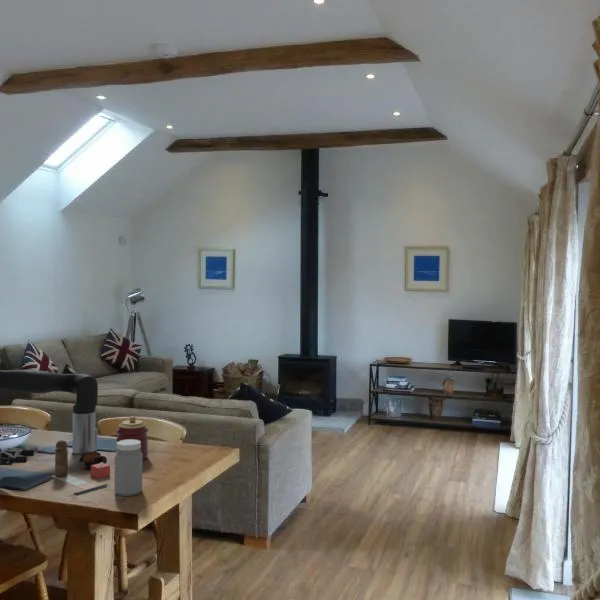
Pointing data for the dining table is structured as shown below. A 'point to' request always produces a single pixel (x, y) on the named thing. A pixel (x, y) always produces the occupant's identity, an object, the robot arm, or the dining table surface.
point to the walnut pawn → (61, 459)
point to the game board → (81, 482)
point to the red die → (100, 470)
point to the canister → (134, 433)
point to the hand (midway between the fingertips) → (30, 456)
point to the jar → (128, 468)
